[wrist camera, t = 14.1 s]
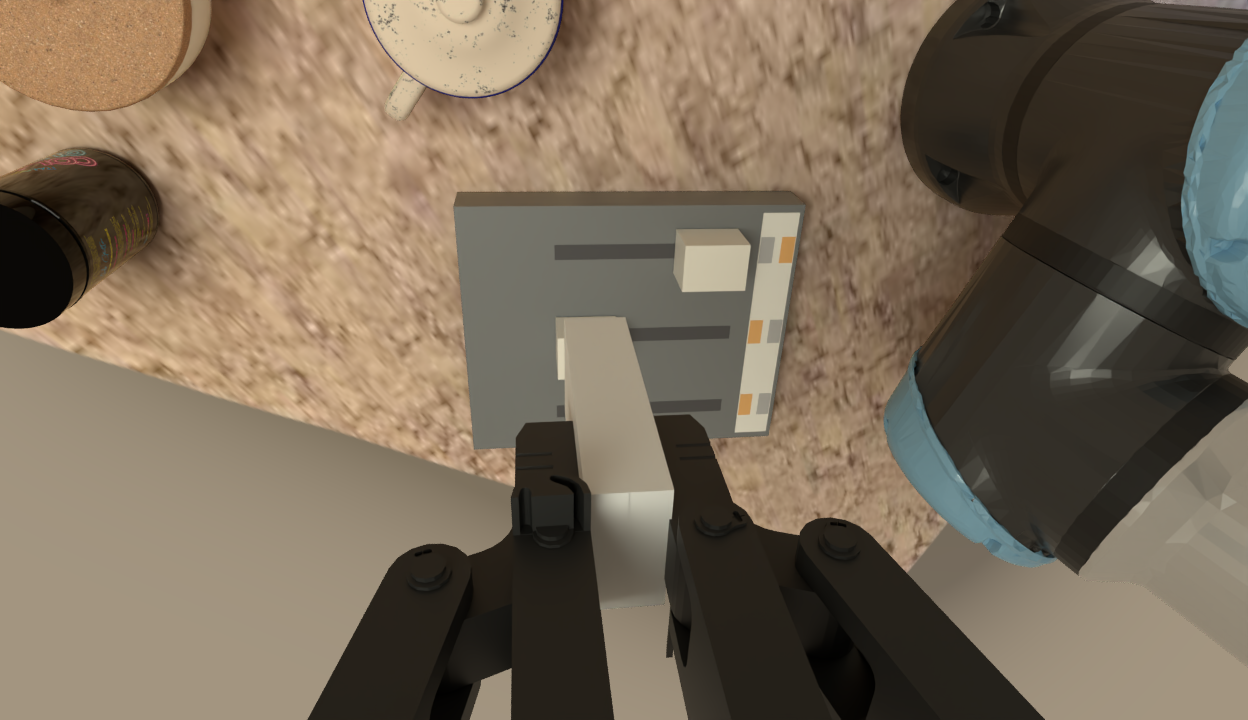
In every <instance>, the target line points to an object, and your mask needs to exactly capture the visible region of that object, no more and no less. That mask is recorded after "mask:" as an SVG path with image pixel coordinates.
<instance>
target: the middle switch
mask: <svg viewBox="0 0 1248 720" xmlns="http://www.w3.org/2000/svg"><path fill="white" fill-rule="evenodd" d="M609 317H616V316H593V317H556V362H557V373H558V380H565V360H564V319H568V318H609Z"/></svg>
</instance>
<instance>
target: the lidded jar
mask: <svg viewBox="0 0 1248 720" xmlns="http://www.w3.org/2000/svg"><path fill="white" fill-rule="evenodd" d="M210 22H211V0H0V81H1V82H3V83H4V84H6V85H7V86H9V87H10V88H12V89H14V90H16V91H18V92H20V93H22V94H24V95H26V96H28V97H30V98H33V99H35V100H38V101H41V102H44V103H47V104H49V105H52V106H57V107H61V108H65V109H70V110H78V111H89V112H95V111H110V110H115V109H119V108H123V107H128V106H130V105H133V104H135V103H137V102H140V101H142V100H144V99H146V98H149V97H150V96H152V95H153V94H154V93H156V92H157V91H159V90H161V89H163V88H165V87H166V86H168V85H169V84H171V83H172V82H173V81H175V80H176V79H178V78H179V77H180V76H181V75H182V74H183V73H184V72H185V71H186V70H187V69H188V68H189V67H190V66H191V65H192V64H193V63H194V61H195V59H196V58H197V56H198V55H199V53H200V51H201V50H202V48H203V46H204V43H205V41H206V38H207V35H208V33H209V27H210Z"/></svg>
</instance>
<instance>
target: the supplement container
mask: <svg viewBox="0 0 1248 720" xmlns="http://www.w3.org/2000/svg"><path fill="white" fill-rule="evenodd" d="M158 222H159V211H158V205H157V202H156V199H155V196H154V194H153V192H152V190H151V189H150V187H149V185H148V184H147V183H146V181H145V180H144V179H143V178H142V177H141V175H140V174H139V173H138V172H137V171H135V170H134V169H133V168H132V167H130V166H129V165H128V164H126V163H125V162H123V161H122V160H120V159H118V158H116V157H114V156H112V155H109V154H107V153H104V152H101V151H96V150H92V149H86V148H71V149H65V150H61V151H58V152H55V153H53V154H51V155H49V156H46V157H44V158H42V159H39V160H37V161H35V162H32V163H30V164H28V165H26V166H23V167H21V168H19V169H16V170H14V171H12V172H9V173H7V174H5V175H3V176H0V327H4V328H14V329H24V328H32V327H37V326H40V325H44V324H46V323H48V322H50V321H52V320H54V319H56V318H57V317H58V316H59V315H61V314H62V313H63V312H64V311H66V310H67V309H69V308H70V307H72V306H73V305H74V304H76V303H77V302H78V301H79V300H80V299H81V298H82V297H83V296H84V295H85V294H86V293H87V292H89V291H90V290H91V289H92V288H94V287H95V286H96V285H98V284H99V283H100V282H101V281H103V280H104V279H105V278H106V277H108V276H109V275H110V274H111V273H113V272H114V271H115V270H117V269H118V268H119V267H120V266H122V265H123V264H124V263H125V262H127V261H128V260H129V259H130V258H132V257H133V256H134V255H136V254H137V253H138V252H139V251H141V250H142V249H143V248H144V247H146V246H147V245H148V244H149V243H150V242H151V240H152V239H153V237H154V236H155V234H156V231H157V228H158Z"/></svg>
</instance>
